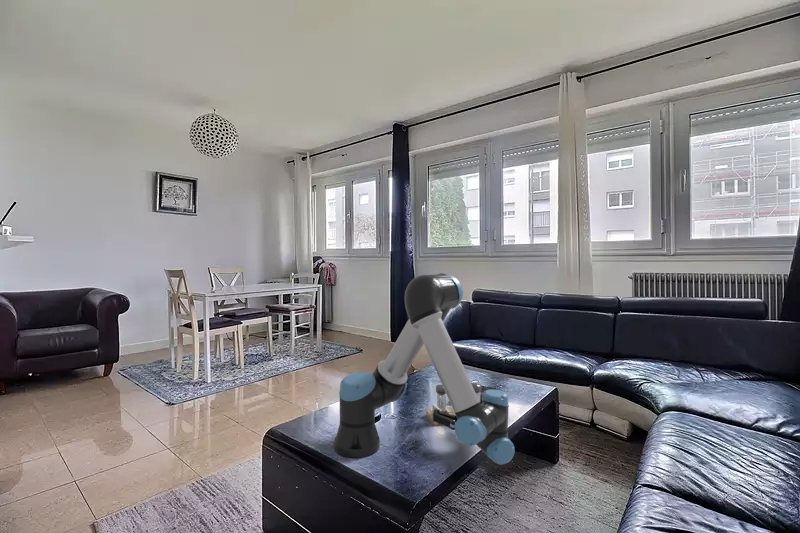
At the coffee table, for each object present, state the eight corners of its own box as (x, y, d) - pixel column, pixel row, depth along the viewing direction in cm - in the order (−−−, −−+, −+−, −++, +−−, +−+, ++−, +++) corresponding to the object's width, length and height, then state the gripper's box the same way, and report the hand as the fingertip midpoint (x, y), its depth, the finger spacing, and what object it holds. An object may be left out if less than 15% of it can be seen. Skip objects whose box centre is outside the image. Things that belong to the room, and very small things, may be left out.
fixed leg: (476, 420, 156) (477, 387, 155) (467, 417, 159) (468, 384, 158) (483, 417, 159) (483, 384, 158) (473, 414, 162) (474, 382, 161)
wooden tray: (432, 425, 151) (432, 418, 151) (426, 415, 160) (426, 408, 160) (491, 421, 155) (491, 414, 155) (482, 411, 164) (482, 405, 164)
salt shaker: (442, 423, 153) (442, 389, 153) (433, 419, 156) (433, 386, 156) (449, 419, 156) (449, 386, 156) (439, 416, 159) (440, 383, 159)
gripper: (442, 447, 124) (418, 419, 145) (512, 436, 132) (480, 411, 152) (442, 423, 124) (418, 398, 144) (512, 414, 131) (481, 392, 152)
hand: (450, 405), depth 148 cm, fingers open, 13 cm apart
